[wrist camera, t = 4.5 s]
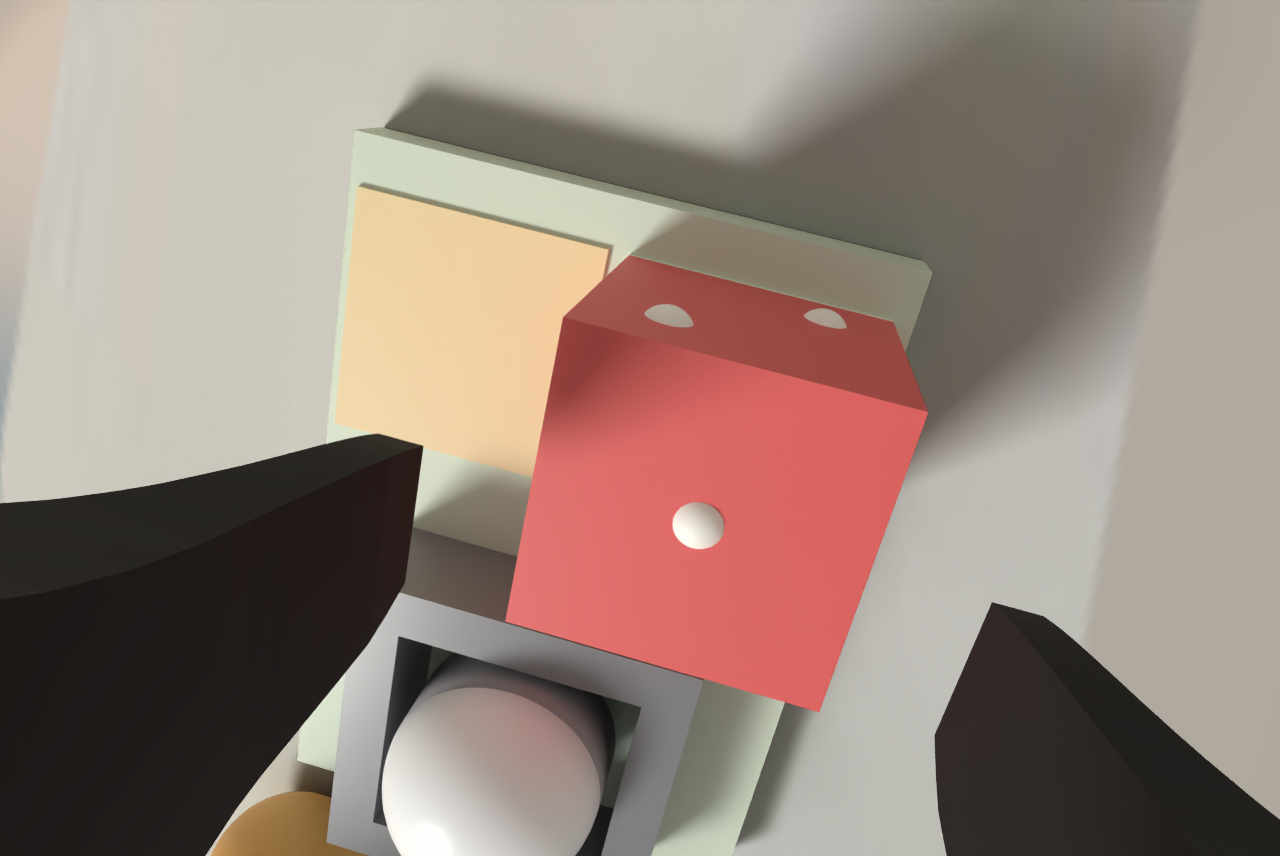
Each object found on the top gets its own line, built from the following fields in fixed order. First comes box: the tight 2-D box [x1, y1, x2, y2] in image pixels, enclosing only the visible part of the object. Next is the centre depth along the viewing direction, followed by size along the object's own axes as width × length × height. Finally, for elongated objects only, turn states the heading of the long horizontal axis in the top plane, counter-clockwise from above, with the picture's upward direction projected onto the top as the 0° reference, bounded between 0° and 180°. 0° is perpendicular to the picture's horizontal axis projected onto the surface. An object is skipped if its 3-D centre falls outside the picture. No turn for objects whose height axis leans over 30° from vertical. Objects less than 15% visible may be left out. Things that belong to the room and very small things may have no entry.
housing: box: [327, 527, 704, 856], centre depth 20 cm, size 7×7×2 cm
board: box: [297, 127, 933, 856], centre depth 20 cm, size 16×11×1 cm
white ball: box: [382, 653, 616, 856], centre depth 18 cm, size 4×4×4 cm
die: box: [505, 255, 928, 712], centre depth 15 cm, size 5×5×5 cm
